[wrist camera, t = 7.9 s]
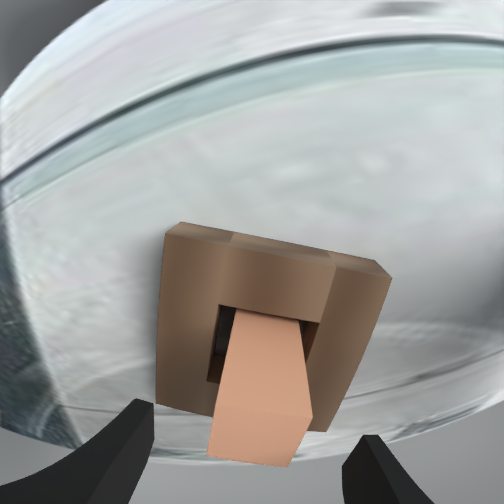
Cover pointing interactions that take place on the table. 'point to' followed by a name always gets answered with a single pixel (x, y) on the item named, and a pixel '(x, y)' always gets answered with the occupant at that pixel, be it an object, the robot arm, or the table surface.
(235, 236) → the socket
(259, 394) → the peg
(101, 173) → the table surface
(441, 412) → the table surface
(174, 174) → the table surface
